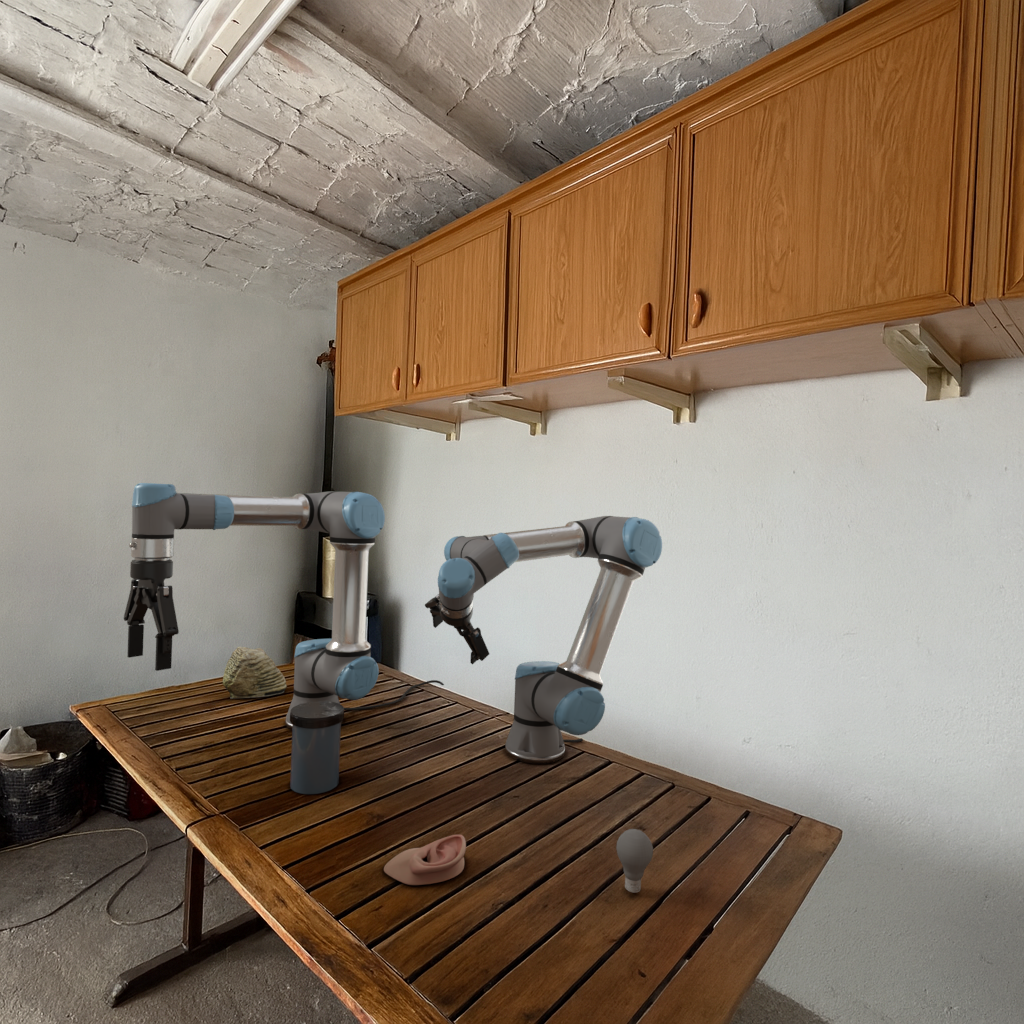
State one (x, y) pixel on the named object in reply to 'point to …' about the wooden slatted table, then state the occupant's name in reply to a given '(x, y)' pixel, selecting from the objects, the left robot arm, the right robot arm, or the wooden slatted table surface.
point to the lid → (316, 714)
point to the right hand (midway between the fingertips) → (456, 641)
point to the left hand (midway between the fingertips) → (148, 662)
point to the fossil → (252, 674)
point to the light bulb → (634, 857)
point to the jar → (315, 759)
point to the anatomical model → (429, 862)
